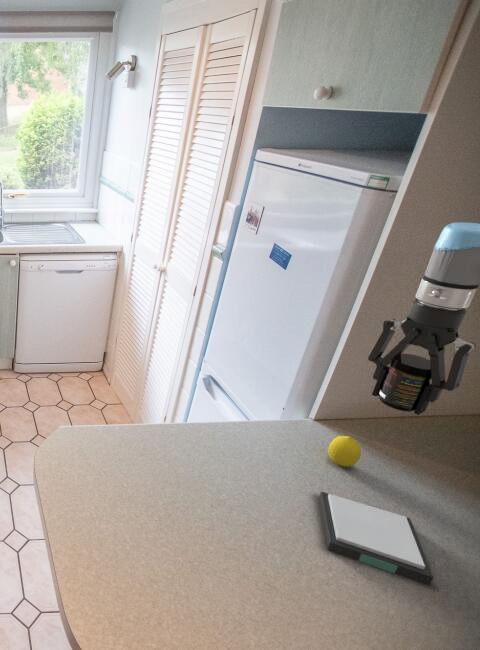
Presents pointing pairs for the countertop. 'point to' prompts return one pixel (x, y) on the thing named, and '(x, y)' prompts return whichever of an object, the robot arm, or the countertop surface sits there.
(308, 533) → the countertop surface
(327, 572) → the countertop surface
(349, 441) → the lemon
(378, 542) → the kitchen scale
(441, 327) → the robot arm
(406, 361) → the supplement container
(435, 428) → the countertop surface
